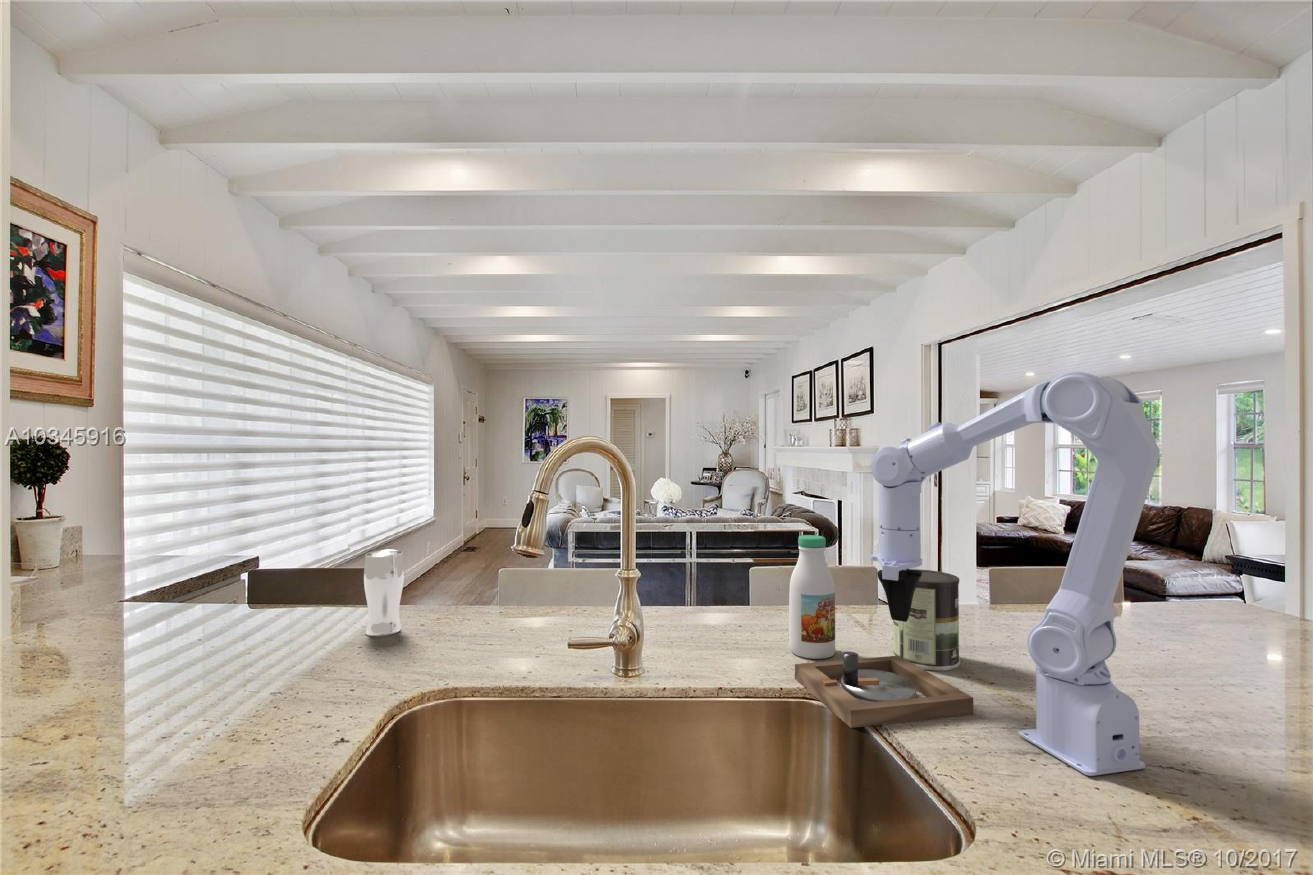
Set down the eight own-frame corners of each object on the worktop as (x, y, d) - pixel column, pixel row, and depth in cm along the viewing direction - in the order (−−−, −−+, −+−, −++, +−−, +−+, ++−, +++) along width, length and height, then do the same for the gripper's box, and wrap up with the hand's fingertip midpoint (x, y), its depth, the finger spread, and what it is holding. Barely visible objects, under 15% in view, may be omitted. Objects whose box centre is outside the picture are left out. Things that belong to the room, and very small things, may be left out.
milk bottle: (783, 655, 99) (783, 537, 100) (795, 642, 106) (795, 532, 106) (830, 663, 96) (830, 541, 96) (839, 649, 103) (839, 535, 103)
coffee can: (949, 651, 102) (949, 570, 102) (968, 673, 92) (968, 583, 92) (886, 647, 104) (886, 567, 104) (898, 668, 94) (898, 580, 94)
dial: (893, 678, 89) (893, 640, 89) (930, 708, 79) (930, 665, 79) (830, 680, 88) (830, 642, 88) (859, 711, 78) (859, 667, 78)
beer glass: (363, 628, 113) (364, 551, 113) (403, 624, 116) (403, 548, 116) (362, 639, 107) (363, 557, 107) (404, 634, 110) (404, 554, 110)
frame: (973, 714, 78) (973, 694, 78) (850, 727, 74) (850, 707, 74) (899, 669, 93) (899, 653, 93) (794, 678, 90) (794, 661, 90)
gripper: (881, 520, 95) (882, 604, 95) (859, 531, 83) (860, 627, 83) (929, 524, 91) (929, 611, 91) (913, 536, 79) (913, 636, 79)
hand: (899, 619), depth 87 cm, fingers closed
